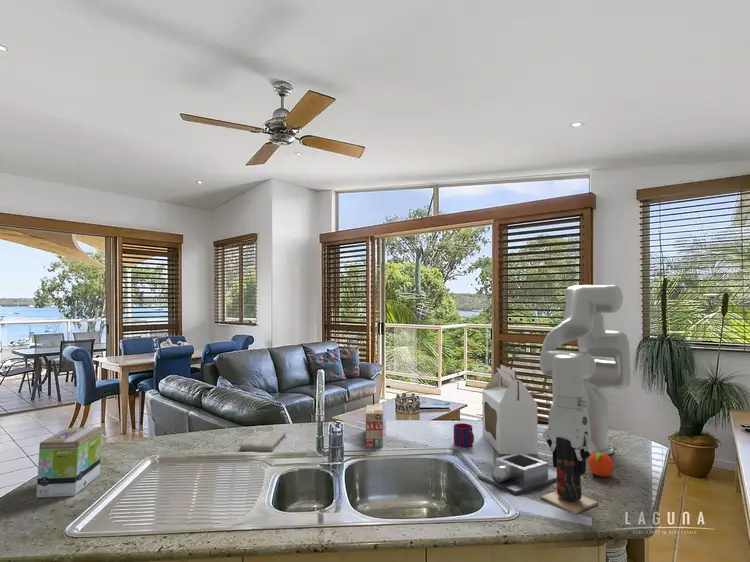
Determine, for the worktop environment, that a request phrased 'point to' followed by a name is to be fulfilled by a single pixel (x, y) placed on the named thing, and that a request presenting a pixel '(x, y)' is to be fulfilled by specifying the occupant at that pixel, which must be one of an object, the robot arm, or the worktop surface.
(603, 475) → the clementine
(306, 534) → the worktop surface
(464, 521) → the worktop surface
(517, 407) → the gable box
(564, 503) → the coaster
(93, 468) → the tea box
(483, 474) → the grey square holder
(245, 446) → the washcloth
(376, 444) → the stack of blocks
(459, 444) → the mug
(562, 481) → the deodorant
